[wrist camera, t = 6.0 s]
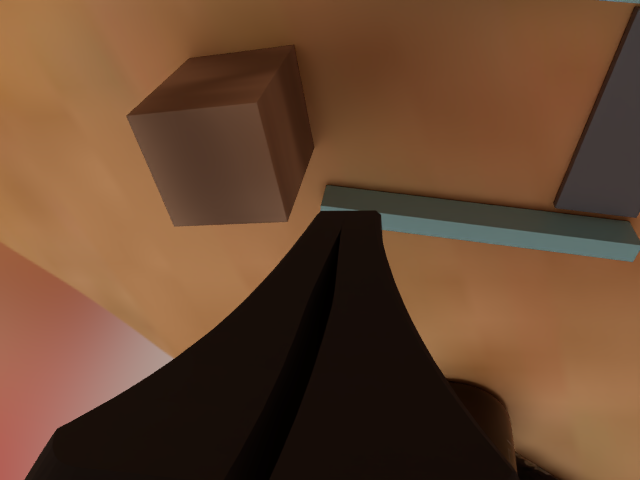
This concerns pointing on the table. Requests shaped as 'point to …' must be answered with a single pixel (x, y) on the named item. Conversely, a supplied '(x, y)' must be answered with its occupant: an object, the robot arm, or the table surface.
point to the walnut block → (227, 137)
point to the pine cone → (531, 470)
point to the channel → (574, 194)
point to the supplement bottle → (489, 418)
